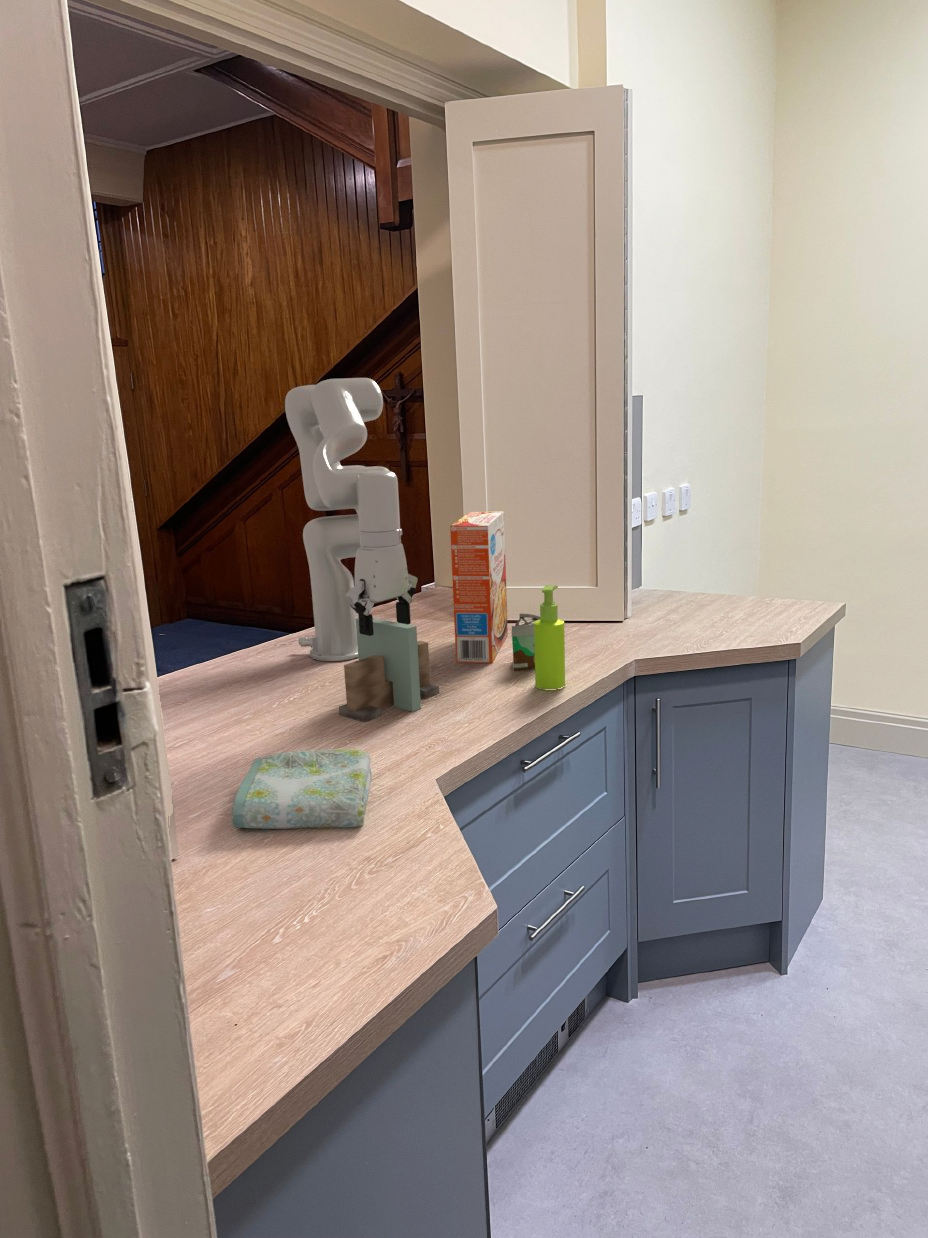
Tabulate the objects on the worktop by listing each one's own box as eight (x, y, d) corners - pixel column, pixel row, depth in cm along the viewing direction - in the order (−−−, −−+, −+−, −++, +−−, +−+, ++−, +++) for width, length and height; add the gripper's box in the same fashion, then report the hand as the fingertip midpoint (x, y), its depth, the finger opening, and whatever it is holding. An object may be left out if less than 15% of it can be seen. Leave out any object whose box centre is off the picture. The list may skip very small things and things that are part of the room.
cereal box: (492, 663, 204) (487, 525, 197) (456, 662, 206) (450, 526, 199) (507, 636, 226) (503, 511, 219) (474, 635, 228) (469, 511, 221)
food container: (542, 673, 195) (541, 627, 193) (512, 673, 196) (511, 626, 194) (548, 657, 207) (547, 613, 205) (521, 656, 208) (519, 612, 206)
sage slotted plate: (412, 711, 175) (408, 628, 171) (361, 698, 184) (355, 618, 180) (420, 708, 177) (416, 626, 173) (369, 695, 186) (364, 616, 182)
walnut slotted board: (364, 721, 171) (361, 669, 169) (339, 714, 176) (335, 662, 173) (439, 693, 185) (437, 644, 183) (413, 686, 190) (411, 639, 188)
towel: (374, 772, 149) (372, 741, 148) (364, 833, 129) (362, 798, 127) (259, 777, 149) (256, 747, 148) (230, 840, 128) (227, 805, 127)
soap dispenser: (569, 680, 190) (567, 583, 185) (561, 691, 183) (559, 591, 179) (541, 679, 192) (538, 582, 187) (532, 689, 185) (529, 590, 181)
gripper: (399, 530, 182) (403, 616, 186) (330, 544, 169) (337, 636, 173) (427, 533, 177) (431, 622, 181) (359, 548, 164) (365, 642, 169)
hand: (385, 628), depth 177 cm, fingers open, 9 cm apart
